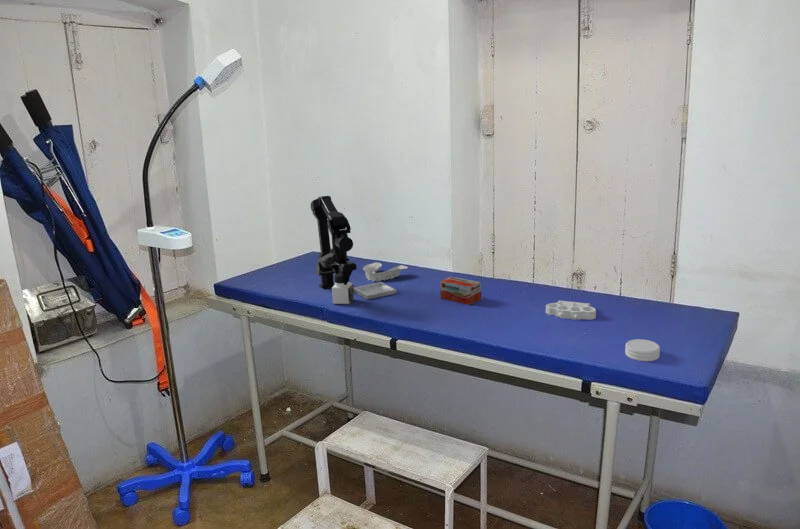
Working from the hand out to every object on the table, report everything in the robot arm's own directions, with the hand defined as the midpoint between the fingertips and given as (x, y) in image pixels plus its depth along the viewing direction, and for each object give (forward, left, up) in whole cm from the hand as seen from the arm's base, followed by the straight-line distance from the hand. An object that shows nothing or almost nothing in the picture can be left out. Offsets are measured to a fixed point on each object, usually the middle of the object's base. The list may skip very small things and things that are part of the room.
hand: (342, 282), depth 244 cm
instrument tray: (-3, +16, -8) cm, 18 cm away
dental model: (-22, +29, -9) cm, 37 cm away
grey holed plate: (+65, +64, -9) cm, 92 cm away
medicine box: (+27, +40, -9) cm, 49 cm away
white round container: (+104, +55, -9) cm, 118 cm away
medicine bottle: (0, 0, -8) cm, 8 cm away
